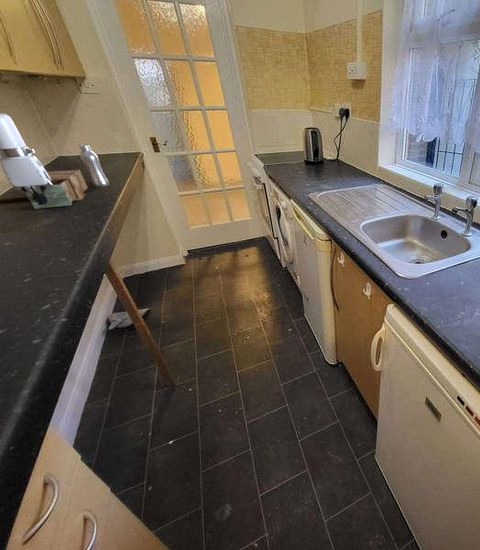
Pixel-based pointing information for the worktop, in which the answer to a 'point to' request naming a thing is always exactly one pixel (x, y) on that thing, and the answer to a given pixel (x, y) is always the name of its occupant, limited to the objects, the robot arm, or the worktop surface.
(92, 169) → the silver metal bottle
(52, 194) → the drawer
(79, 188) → the cabinet
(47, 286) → the worktop surface
